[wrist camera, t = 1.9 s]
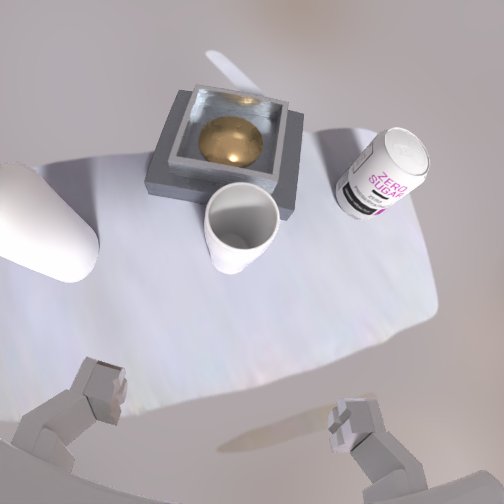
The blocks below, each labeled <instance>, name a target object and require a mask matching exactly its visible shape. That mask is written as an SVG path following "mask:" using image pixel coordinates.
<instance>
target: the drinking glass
mask: <svg viewBox="0 0 504 504" xmlns="http://www.w3.org/2000/svg"><path fill="white" fill-rule="evenodd" d="M279 223H280V214H279V210H278V207H277V204H276V202H275V201H274V199H273V198H272V196H271V195H270V194H269V193H268V192H267V191H265V190H264V189H263V188H261V187H259V186H257V185H254V184H251V183H246V182H236V183H231V184H228V185H225V186H223V187H222V188H220V189H219V190H217V191H216V192H215V193H214V194H213V195H212V197H211V198H210V200H209V202H208V204H207V207H206V211H205V219H204V232H205V238H206V242H207V245H208V248H209V252H210V258H211V261H212V263H213V265H214V266H215V268H216V269H218V270H219V271H221V272H223V273H226V274H235V273H238V272H240V271H242V270H243V269H245V268H246V266H247V265H248V264H250V263H251V262H252V261H254V260H255V259H257V258H258V257H259V256H260V255H261V254H262V253H263V252H264V251H265V250H266V249H267V248H268V246H269V245H270V244H271V242H272V240H273V239H274V237H275V235H276V233H277V231H278V228H279Z"/></svg>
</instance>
